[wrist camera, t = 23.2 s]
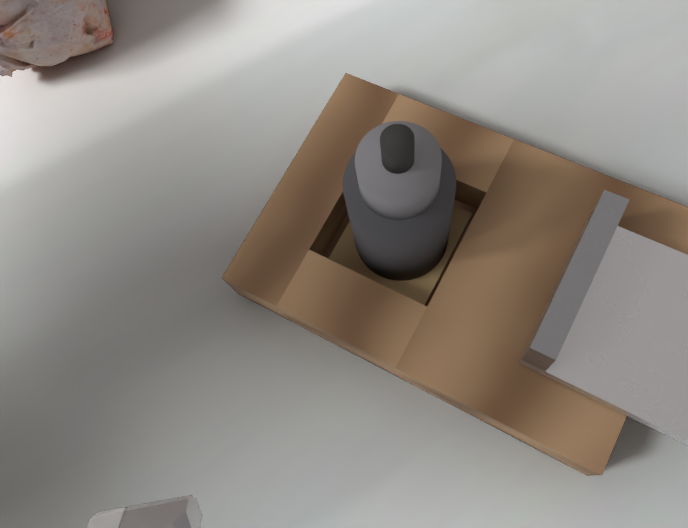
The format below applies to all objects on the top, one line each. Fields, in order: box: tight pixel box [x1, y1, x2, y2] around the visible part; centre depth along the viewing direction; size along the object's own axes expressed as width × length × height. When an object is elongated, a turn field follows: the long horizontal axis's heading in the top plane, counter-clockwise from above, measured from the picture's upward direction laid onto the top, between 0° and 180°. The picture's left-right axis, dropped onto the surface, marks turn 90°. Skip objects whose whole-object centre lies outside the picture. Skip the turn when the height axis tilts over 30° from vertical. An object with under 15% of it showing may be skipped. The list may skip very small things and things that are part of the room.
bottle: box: [343, 121, 456, 281], centre depth 27 cm, size 4×4×10 cm
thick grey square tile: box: [519, 190, 688, 446], centre depth 25 cm, size 7×7×3 cm
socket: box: [222, 73, 688, 476], centre depth 30 cm, size 18×12×3 cm, turn 61°
